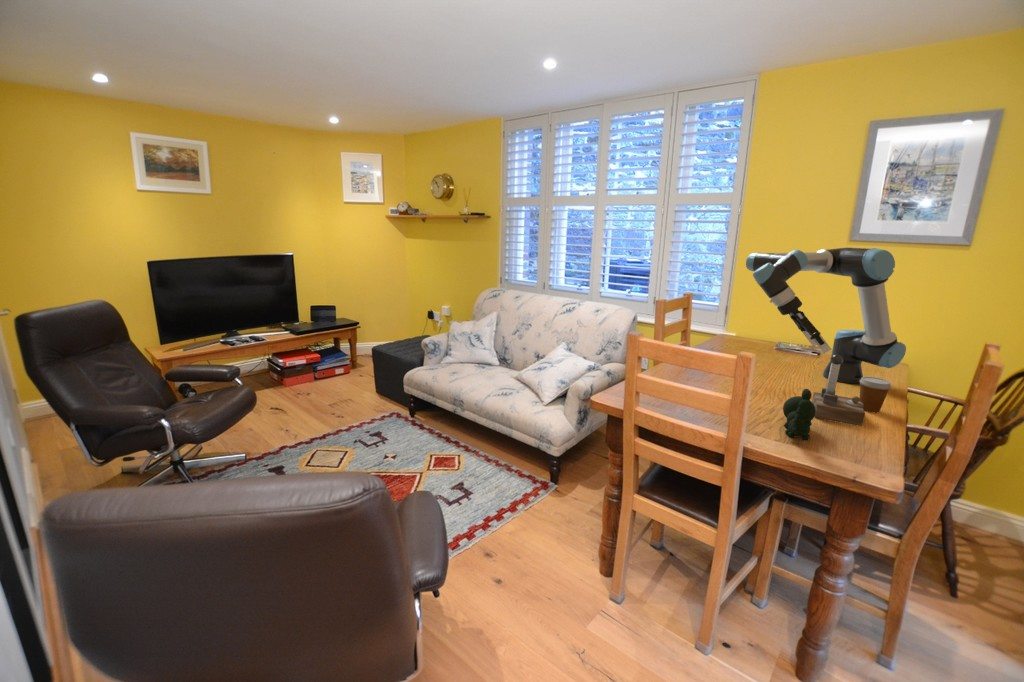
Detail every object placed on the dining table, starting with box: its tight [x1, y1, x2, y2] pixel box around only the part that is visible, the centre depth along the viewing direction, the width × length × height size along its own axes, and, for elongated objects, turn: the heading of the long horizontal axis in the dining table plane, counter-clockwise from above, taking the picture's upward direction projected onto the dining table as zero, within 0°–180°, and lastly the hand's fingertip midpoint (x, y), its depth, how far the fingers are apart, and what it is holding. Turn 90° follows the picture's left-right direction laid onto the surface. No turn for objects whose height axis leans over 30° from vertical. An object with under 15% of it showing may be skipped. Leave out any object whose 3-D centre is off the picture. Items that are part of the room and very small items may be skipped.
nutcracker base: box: [811, 387, 866, 427], centre depth 166 cm, size 16×14×8 cm
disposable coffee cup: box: [859, 376, 892, 414], centre depth 171 cm, size 10×10×12 cm
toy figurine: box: [782, 388, 816, 442], centre depth 149 cm, size 9×19×25 cm
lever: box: [825, 355, 843, 395], centre depth 165 cm, size 4×4×17 cm
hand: (822, 347), depth 165 cm, fingers open, 13 cm apart
